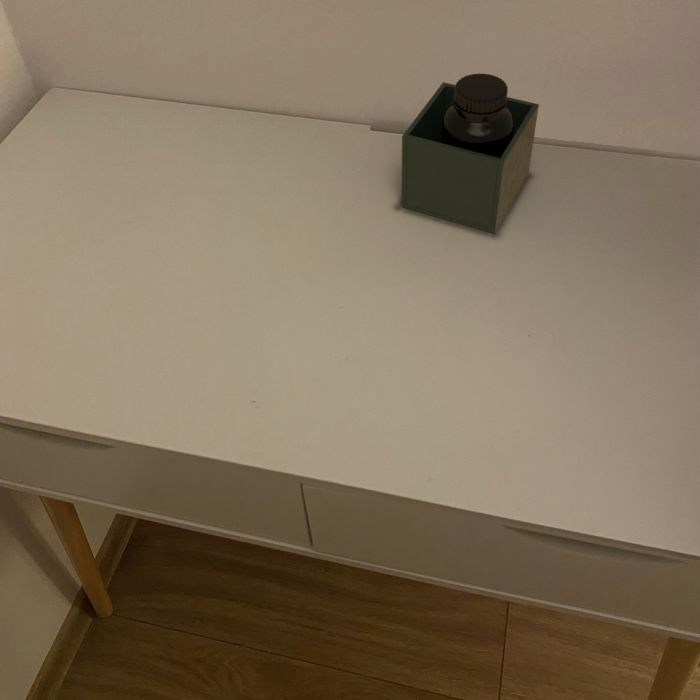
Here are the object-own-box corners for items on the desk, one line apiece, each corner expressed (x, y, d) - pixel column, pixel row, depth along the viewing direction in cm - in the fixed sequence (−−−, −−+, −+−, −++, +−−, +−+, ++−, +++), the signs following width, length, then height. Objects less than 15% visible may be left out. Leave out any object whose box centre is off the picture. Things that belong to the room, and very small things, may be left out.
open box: (528, 175, 86) (539, 104, 79) (494, 233, 80) (503, 162, 74) (439, 152, 89) (442, 81, 83) (401, 206, 83) (401, 136, 77)
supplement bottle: (517, 204, 82) (532, 98, 73) (454, 221, 81) (462, 115, 72) (487, 165, 86) (498, 60, 77) (427, 180, 85) (431, 76, 76)
